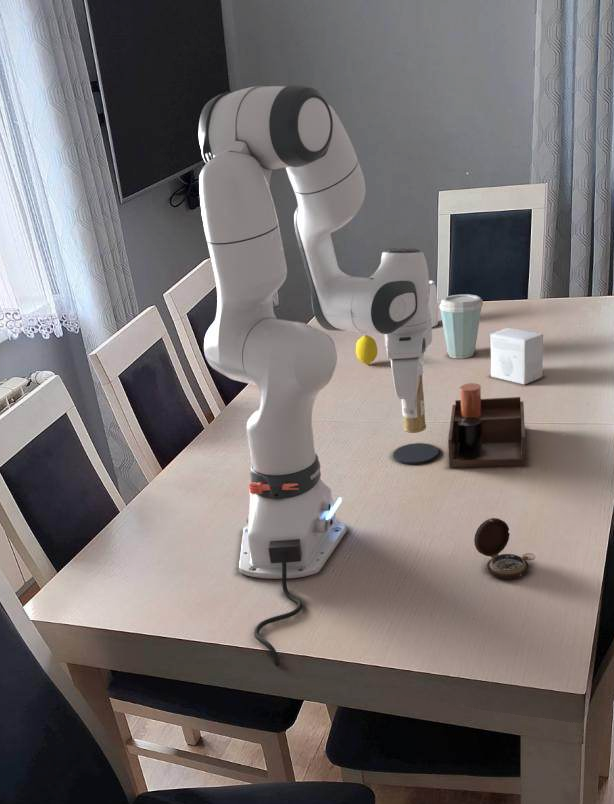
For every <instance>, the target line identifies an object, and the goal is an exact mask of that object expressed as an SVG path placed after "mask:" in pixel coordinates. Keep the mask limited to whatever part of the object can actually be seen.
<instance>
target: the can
mask: <svg viewBox="0 0 614 804" xmlns="http://www.w3.org/2000/svg"><path fill="white" fill-rule="evenodd" d="M435 283H436V282H435V281H434V280H429V285H430V297H429V301H428V306H429V310H430V313H431V324H432V329H433V328H435V327H436V326H438V324H439V310H438V309H439V307H438V289H437V286H436V284H435Z"/></svg>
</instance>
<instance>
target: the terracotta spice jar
mask: <svg viewBox="0 0 614 804" xmlns="http://www.w3.org/2000/svg"><path fill="white" fill-rule="evenodd" d="M459 393H460V395H459V396H460V398H459V399H460V400H461V416H462V417H463V418H467V417H476V418H477V417H479V416H481V399H482V386H481V384H479V383H475V382H474V383H472V382H471V383H470V382H469V383H464V384H462V385H461V386H460V387H459Z"/></svg>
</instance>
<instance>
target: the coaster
mask: <svg viewBox="0 0 614 804" xmlns="http://www.w3.org/2000/svg"><path fill="white" fill-rule="evenodd" d="M392 456H393V459H394V460H395V461H396V462H397V463H400V464H403V465H421V464H426V463H429V462H432V461H434V460H435V459H436V458H437V457H438V456H439V448H438V447H436V446H435V445H433V444H430V443H424V442H423V443H422V442H418V443H416V442H415V443H408V444H405V445H402V446H399V447H397V448H396V449H395V450H393V454H392Z"/></svg>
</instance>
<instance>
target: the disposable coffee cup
mask: <svg viewBox="0 0 614 804" xmlns="http://www.w3.org/2000/svg"><path fill="white" fill-rule="evenodd" d="M483 305H484V301H483V299H482V297H480V296H478V295H476V294H469V293H465V294H462V293H461V294H452V295H448V296H444V297H442V298H441V301H440V303H439V305H438V306H439V307H438V309H440V315H441V321H442V327H443V334H444V340H445V346H446V351H447V352H446V353H447V354H448V356H449V357H450V358H452V359H460V360H461V359H468V358H471V357H472V356H473V355H474V354H475V352H476V346H477V339H478V334H479V333H478V332H479V326H480V320H481V313H482V307H483Z"/></svg>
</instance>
